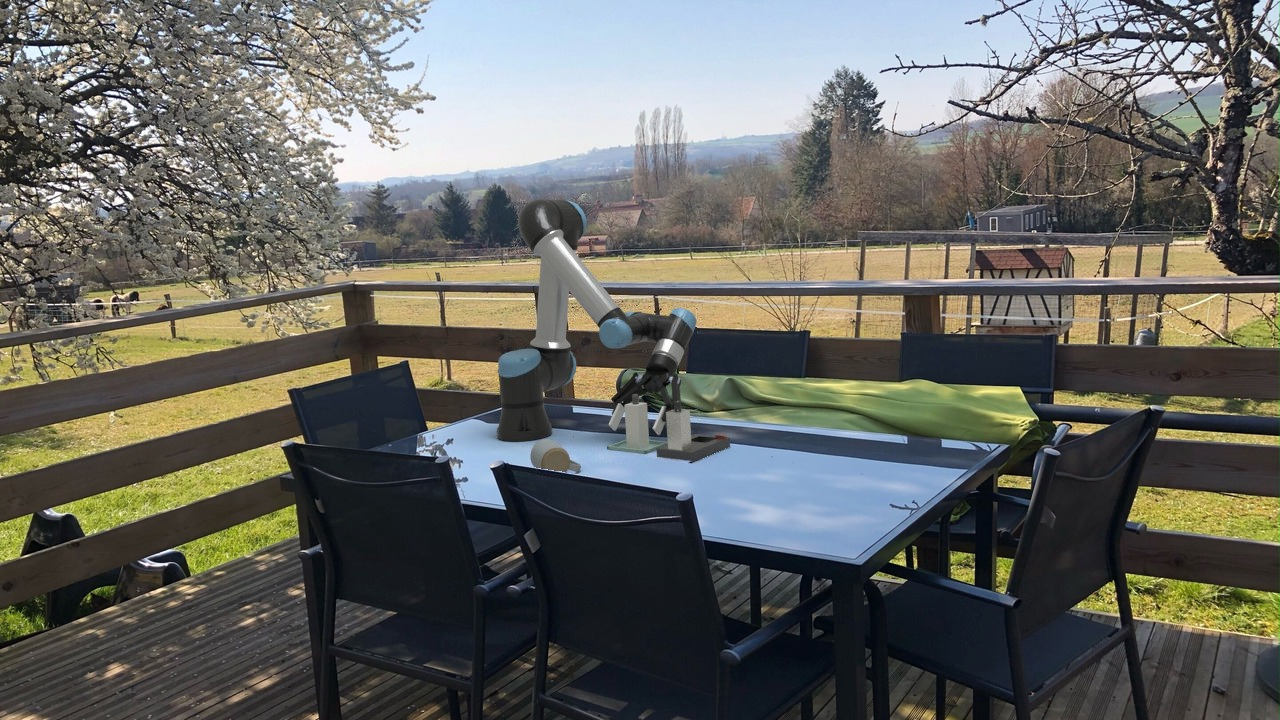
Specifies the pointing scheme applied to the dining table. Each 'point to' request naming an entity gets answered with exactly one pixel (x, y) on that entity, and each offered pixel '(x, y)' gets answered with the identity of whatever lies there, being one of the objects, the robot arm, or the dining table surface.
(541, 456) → the ceramic mug
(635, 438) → the ivory plug
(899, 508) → the dining table surface
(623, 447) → the tray
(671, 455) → the pdu strip
